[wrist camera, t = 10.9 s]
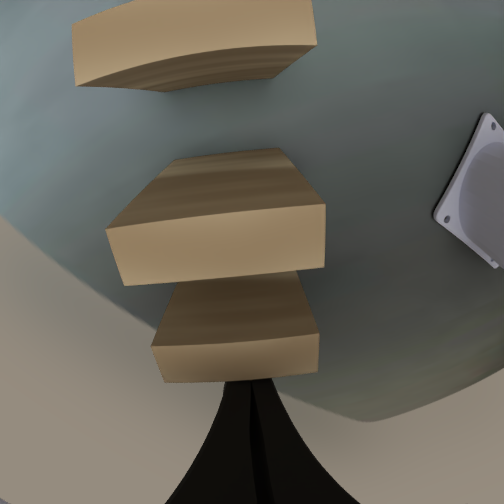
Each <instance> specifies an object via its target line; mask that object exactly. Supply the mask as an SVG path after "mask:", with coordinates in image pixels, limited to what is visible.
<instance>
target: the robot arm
mask: <svg viewBox="0 0 504 504" xmlns="http://www.w3.org/2000/svg"><path fill="white" fill-rule="evenodd" d="M491 124H492V128H491ZM433 216H434V219H435V220H436V221H437V222H438V223H439V224H441V225H442V226H443V227H445V228H446V229H447V230H449V231H450V232H451V233H453V234H454V235H455V236H456V237H458V238H459V239H460V240H461V241H463V242H464V243H465V244H466V245H468V246H469V247H470V248H471V249H472V250H474V251H475V252H476V253H477V254H478V255H480V256H481V257H482V258H483V259H484V260H485V261H487V262H488V263H489V264H490V265H491V266H492V267H493V268H497V267H498V266H501V267H502V268H503V269H504V130H503V129H502V128H501V126H500V125H499V124H498V122H497V121H496V120H495V119H494V117H493V116H492V115H491V114H489V113H483V115H482V117H481V119H480V121H479V124H478V126H477V128H476V131H475V133H474V135H473V137H472V140H471V142H470V144H469V146H468V148H467V150H466V153H465V155H464V157H463V159H462V161H461V163H460V165H459V167H458V169H457V171H456V173H455V175H454V176H453V178H452V180H451V182H450V184H449V186H448V188H447V190H446V191H445V193H444V195H443V197H442V199H441V200H440V202H439V204H438V206H437V207H436V209H435V211H434V215H433ZM446 216H447V217H446ZM445 217H446V219H445ZM444 219H445V220H444ZM0 504H10V503H8V502H6V501H5V500H3V499H1V498H0ZM165 504H360V503H359V502H357V501H356V500H355V499H354V498H353V497H352V496H351V495H350V494H348V493H347V492H346V491H345V490H344V489H343V488H342V487H341V486H340V485H339V484H338V483H337V482H336V481H335V480H334V479H333V478H332V477H331V476H330V475H329V473H328V472H327V471H326V470H325V469H324V468H323V467H322V465H321V464H320V463H319V462H318V460H317V459H316V458H315V456H314V455H313V454H312V452H311V451H310V450H309V448H308V447H307V445H306V444H305V442H304V441H303V439H302V438H301V436H300V435H299V433H298V432H297V430H296V428H295V426H294V425H293V423H292V421H291V419H290V417H289V415H288V413H287V412H286V410H285V408H284V406H283V404H282V402H281V399H280V397H279V395H278V393H277V390H276V388H275V386H274V383H273V381H272V378H264V379H253V380H240V381H225V384H224V390H223V397H222V400H221V403H220V406H219V409H218V412H217V414H216V417H215V419H214V421H213V424H212V426H211V429H210V431H209V433H208V435H207V437H206V439H205V441H204V443H203V445H202V447H201V449H200V451H199V453H198V454H197V456H196V458H195V460H194V461H193V463H192V465H191V467H190V468H189V470H188V471H187V473H186V475H185V476H184V478H183V479H182V481H181V482H180V484H179V485H178V486H177V488H176V489H175V491H174V492H173V494H172V495H171V496H170V498H169V499H168V500H167V502H166V503H165Z"/></svg>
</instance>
